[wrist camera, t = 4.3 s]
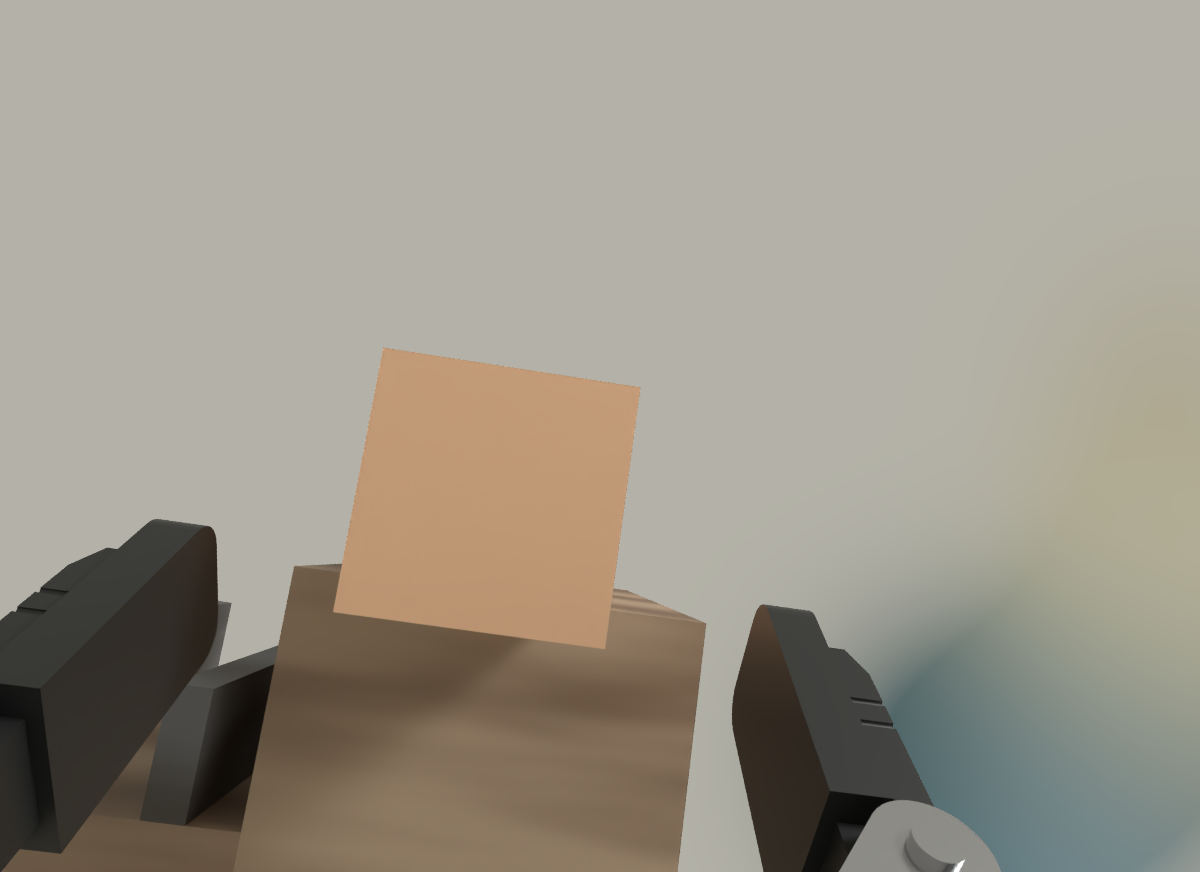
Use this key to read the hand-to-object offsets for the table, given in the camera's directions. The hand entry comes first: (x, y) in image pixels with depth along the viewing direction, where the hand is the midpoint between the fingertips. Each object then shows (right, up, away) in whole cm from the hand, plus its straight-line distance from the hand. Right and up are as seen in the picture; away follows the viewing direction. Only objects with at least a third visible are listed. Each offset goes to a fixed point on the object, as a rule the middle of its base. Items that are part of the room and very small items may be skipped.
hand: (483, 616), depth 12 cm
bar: (-1, -2, +11) cm, 11 cm away
